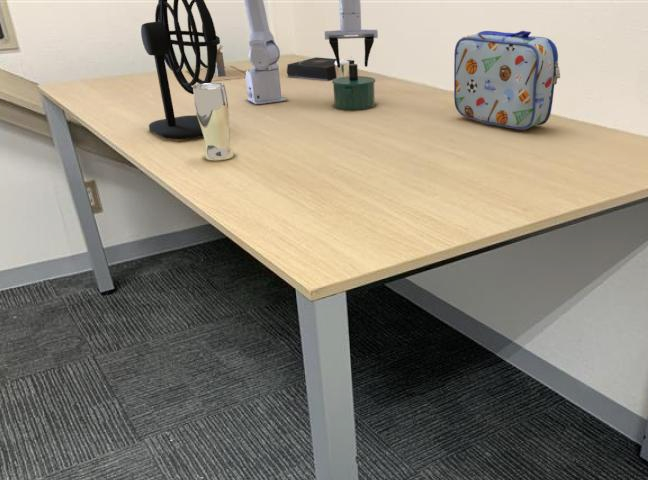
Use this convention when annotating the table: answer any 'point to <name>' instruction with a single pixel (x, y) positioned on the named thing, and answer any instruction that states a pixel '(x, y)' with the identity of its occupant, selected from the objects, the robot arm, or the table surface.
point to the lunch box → (505, 78)
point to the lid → (353, 78)
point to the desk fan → (162, 49)
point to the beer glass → (213, 119)
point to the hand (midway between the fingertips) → (352, 66)
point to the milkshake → (342, 68)
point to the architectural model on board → (222, 70)
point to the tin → (354, 97)
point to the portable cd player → (314, 69)
